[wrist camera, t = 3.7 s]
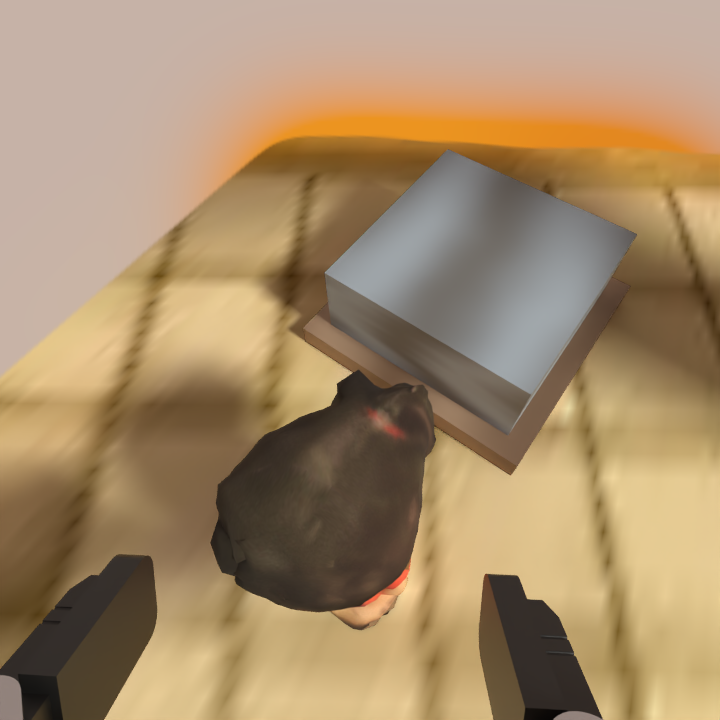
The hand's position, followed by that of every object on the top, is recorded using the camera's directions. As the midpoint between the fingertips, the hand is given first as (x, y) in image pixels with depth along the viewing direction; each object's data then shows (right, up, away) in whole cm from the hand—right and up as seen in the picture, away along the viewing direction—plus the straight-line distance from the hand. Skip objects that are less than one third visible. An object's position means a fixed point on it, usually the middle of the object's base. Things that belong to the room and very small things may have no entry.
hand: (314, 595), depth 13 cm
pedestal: (+7, +8, +15) cm, 18 cm away
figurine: (0, -2, +10) cm, 10 cm away
